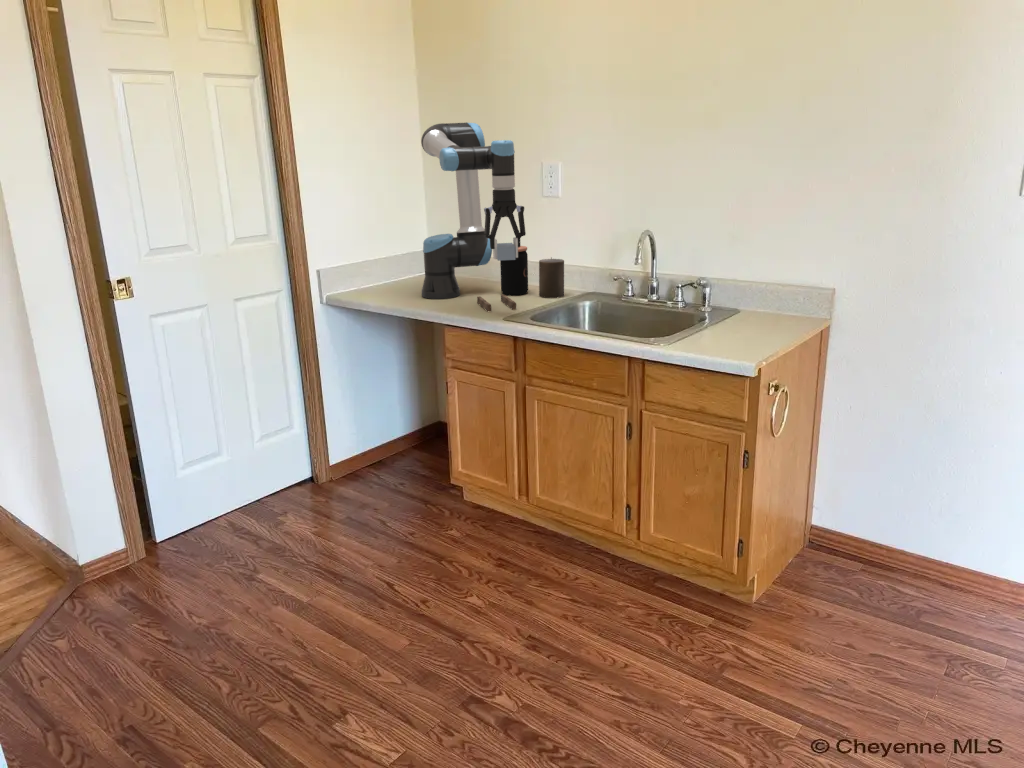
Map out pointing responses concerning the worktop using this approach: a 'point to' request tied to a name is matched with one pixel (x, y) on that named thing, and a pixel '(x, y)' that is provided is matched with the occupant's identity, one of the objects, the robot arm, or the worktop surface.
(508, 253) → the slate block
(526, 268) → the coffee jar
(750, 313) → the worktop surface
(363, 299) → the worktop surface
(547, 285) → the pillar candle
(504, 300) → the walnut channel
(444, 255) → the robot arm
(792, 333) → the worktop surface
